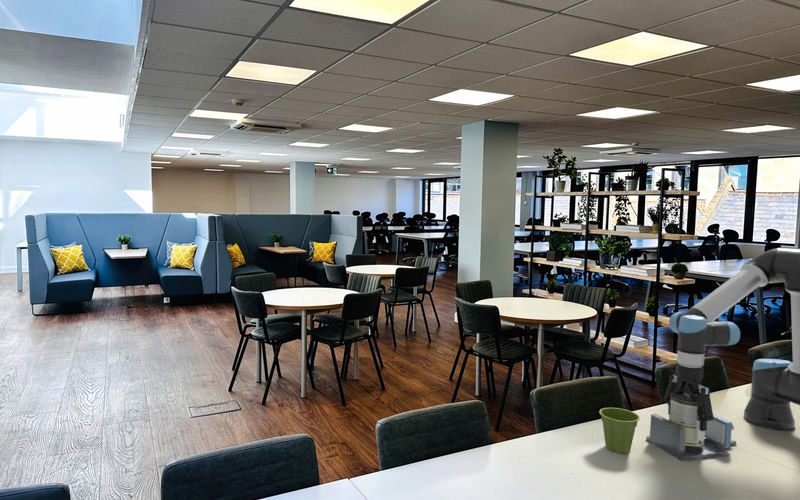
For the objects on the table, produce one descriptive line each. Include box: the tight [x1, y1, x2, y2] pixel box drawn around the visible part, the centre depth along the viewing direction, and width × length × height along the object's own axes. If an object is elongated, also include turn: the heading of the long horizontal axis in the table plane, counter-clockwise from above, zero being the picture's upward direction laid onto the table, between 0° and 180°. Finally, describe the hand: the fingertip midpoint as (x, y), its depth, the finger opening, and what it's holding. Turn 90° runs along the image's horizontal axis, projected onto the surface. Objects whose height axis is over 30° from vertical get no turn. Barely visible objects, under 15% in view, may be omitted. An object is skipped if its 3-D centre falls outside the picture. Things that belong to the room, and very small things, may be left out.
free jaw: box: [704, 413, 735, 448], centre depth 167 cm, size 9×11×8 cm
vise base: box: [645, 413, 737, 462], centre depth 164 cm, size 27×15×9 cm, turn 105°
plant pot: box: [599, 407, 641, 454], centre depth 161 cm, size 12×12×11 cm
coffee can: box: [668, 392, 704, 446], centre depth 163 cm, size 10×10×14 cm
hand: (685, 432), depth 163 cm, fingers closed on coffee can, 10 cm apart
